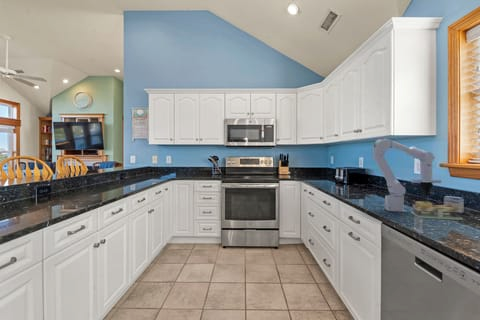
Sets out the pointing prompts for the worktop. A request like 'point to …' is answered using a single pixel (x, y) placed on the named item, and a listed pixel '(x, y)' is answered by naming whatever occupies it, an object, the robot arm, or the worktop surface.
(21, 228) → the worktop surface
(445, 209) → the flat elongated piece
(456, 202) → the medicine box
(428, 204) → the slider
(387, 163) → the robot arm
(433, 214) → the stand
